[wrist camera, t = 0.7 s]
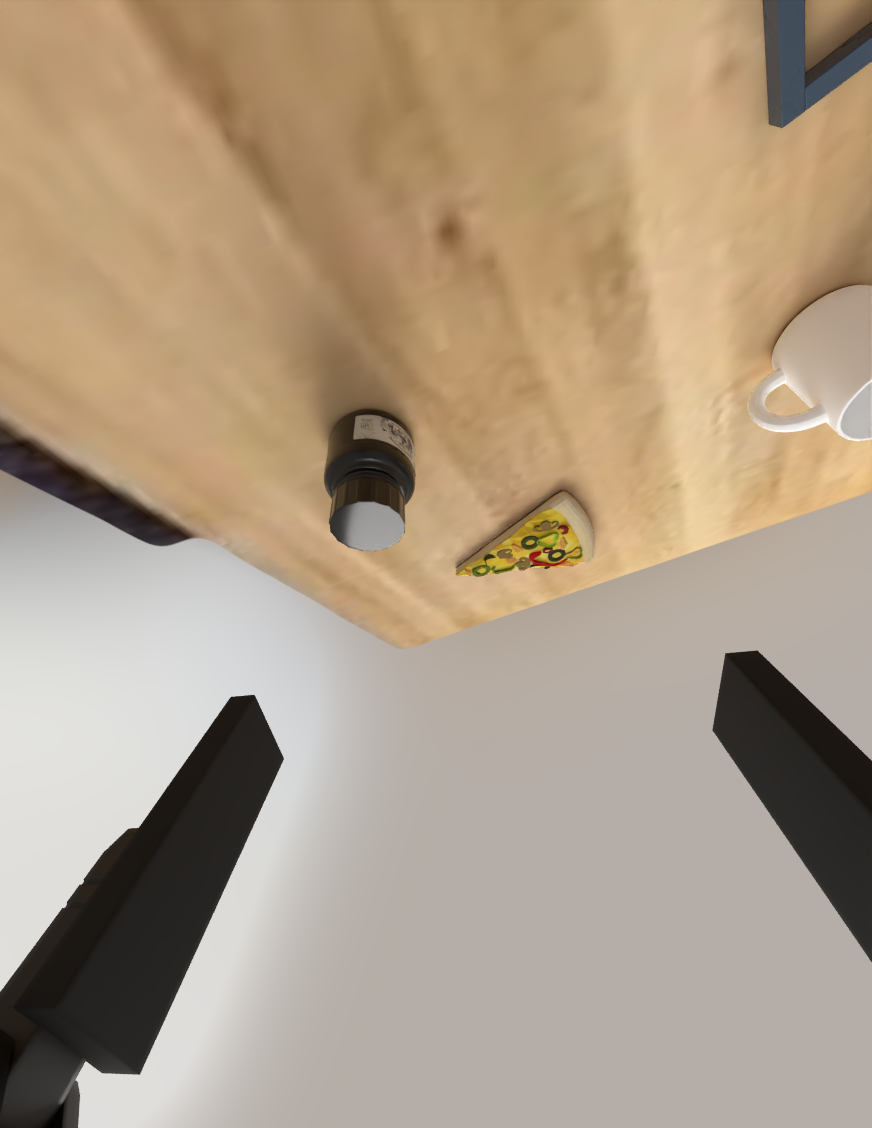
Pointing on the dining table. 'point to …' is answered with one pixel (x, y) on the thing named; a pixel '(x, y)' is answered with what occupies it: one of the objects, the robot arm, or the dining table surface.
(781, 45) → the square frame
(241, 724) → the robot arm
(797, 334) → the mug
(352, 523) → the ink bottle
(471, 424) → the dining table surface
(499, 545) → the pizza slice
